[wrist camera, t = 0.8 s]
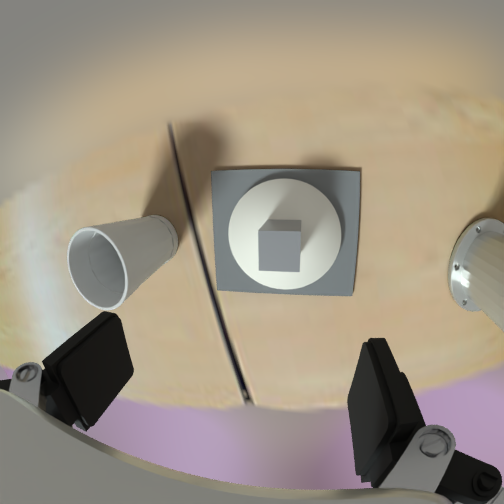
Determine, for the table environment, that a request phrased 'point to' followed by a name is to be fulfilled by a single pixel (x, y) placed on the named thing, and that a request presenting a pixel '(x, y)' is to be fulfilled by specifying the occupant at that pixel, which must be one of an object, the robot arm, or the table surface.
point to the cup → (119, 257)
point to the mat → (326, 181)
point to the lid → (284, 233)
